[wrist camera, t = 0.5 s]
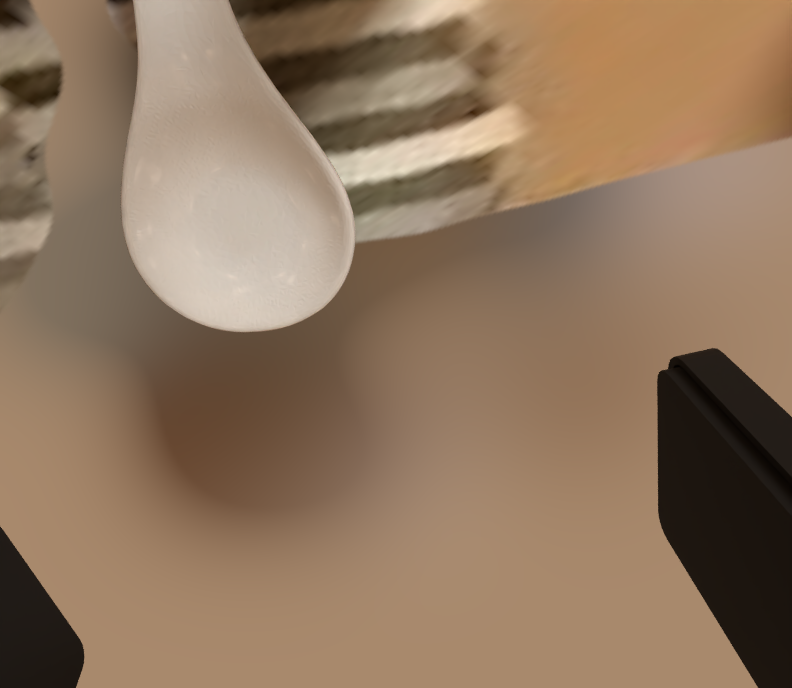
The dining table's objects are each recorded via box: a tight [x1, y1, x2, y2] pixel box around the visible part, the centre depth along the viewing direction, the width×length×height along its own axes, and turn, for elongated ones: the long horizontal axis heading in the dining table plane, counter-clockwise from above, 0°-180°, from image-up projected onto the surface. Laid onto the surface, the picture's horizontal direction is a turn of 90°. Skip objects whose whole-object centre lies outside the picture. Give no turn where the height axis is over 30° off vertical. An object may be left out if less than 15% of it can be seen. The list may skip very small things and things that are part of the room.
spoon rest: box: [121, 0, 355, 332], centre depth 31 cm, size 24×12×7 cm, turn 6°
